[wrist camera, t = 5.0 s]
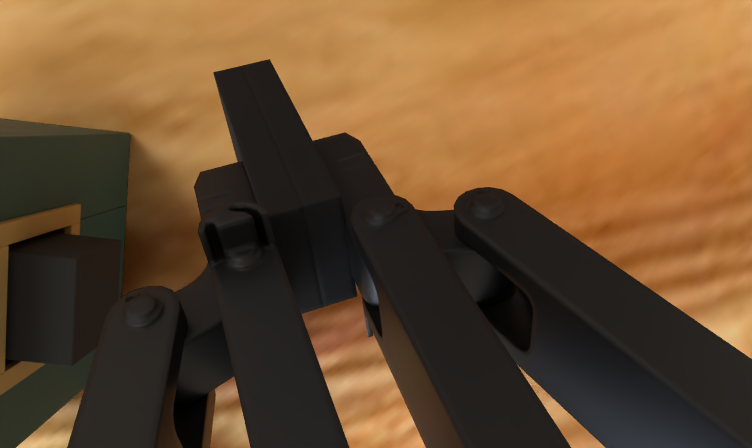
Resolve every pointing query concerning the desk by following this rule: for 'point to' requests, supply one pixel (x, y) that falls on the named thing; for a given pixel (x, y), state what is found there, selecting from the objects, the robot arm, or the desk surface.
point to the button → (59, 296)
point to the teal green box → (60, 215)
